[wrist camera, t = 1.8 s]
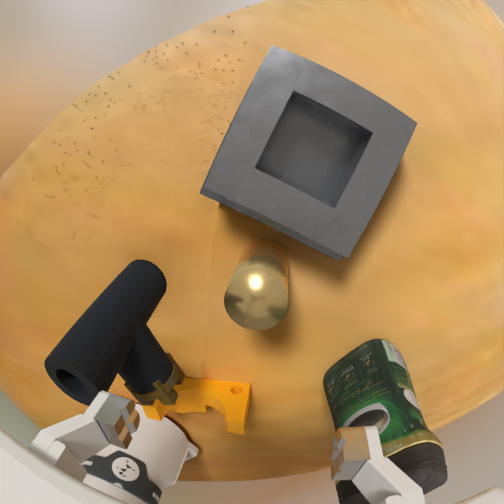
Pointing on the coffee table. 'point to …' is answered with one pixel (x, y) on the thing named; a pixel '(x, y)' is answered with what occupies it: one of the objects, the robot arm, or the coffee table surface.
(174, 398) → the pipe connector
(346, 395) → the coffee jar
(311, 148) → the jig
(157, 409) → the pipe clamp
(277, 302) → the tan cylinder
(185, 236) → the coffee table surface
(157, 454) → the robot arm
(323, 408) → the coffee table surface
